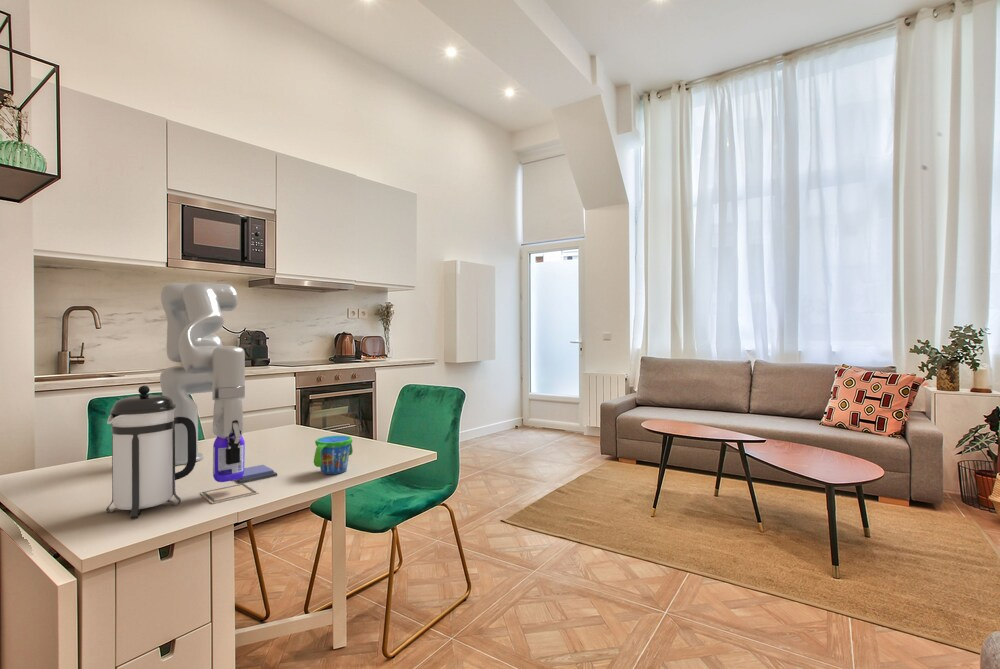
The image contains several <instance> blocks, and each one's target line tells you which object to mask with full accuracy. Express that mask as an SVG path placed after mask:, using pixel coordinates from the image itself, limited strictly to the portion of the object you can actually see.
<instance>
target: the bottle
mask: <svg viewBox="0 0 1000 669" xmlns="http://www.w3.org/2000/svg"><path fill="white" fill-rule="evenodd" d="M239 431H240V430H239ZM231 436H234V435H233V434H231V435H229V437H231ZM232 440H233V439H230V443H231V441H232ZM212 446H213V447H212V449H213V450H212V451H213V452H212V458H213V459H212V476H213V479H214V481H216V482H217V483H225V482H226V483H227V482H231V481H236V480H238V479H241V478H242V477H243V474H244V468H245V456H246V455H245V446H246V445H245V438H244V437H243V434H242V435H241V439H240V462H239V463H234V464H229V465H227V464H226V449H227V440H226V438H225V439H222V438H220V437H218V436H216V438H215V440H214V442H213V445H212Z"/></svg>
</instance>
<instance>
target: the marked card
mask: <svg viewBox="0 0 1000 669" xmlns="http://www.w3.org/2000/svg"><path fill="white" fill-rule="evenodd" d="M257 494H259V491H257V490H255V489H254V488H252V486H249V485H248V484H246V482H245V483H239V484H234V485H230V486H229V485H228V486H224V487H220V488H214V489H210V490H206V491H201V492H199V495H200V496H202V497H203V498H204V497H205V498H204V499H206V501H208V502H209V503H210V502H211V503H212V504H211V503H210V504H211V505H215V504H217V503H218V502H219V503H223V502H227V501H226V500H228V501H231V499H232V500H236V499H235V498H237V499H239V498H240V497H241V498H245V497H249V496H254V495H257ZM241 498H240V499H241ZM222 501H223V502H222ZM214 503H215V504H214ZM219 503H218V504H219Z"/></svg>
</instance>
